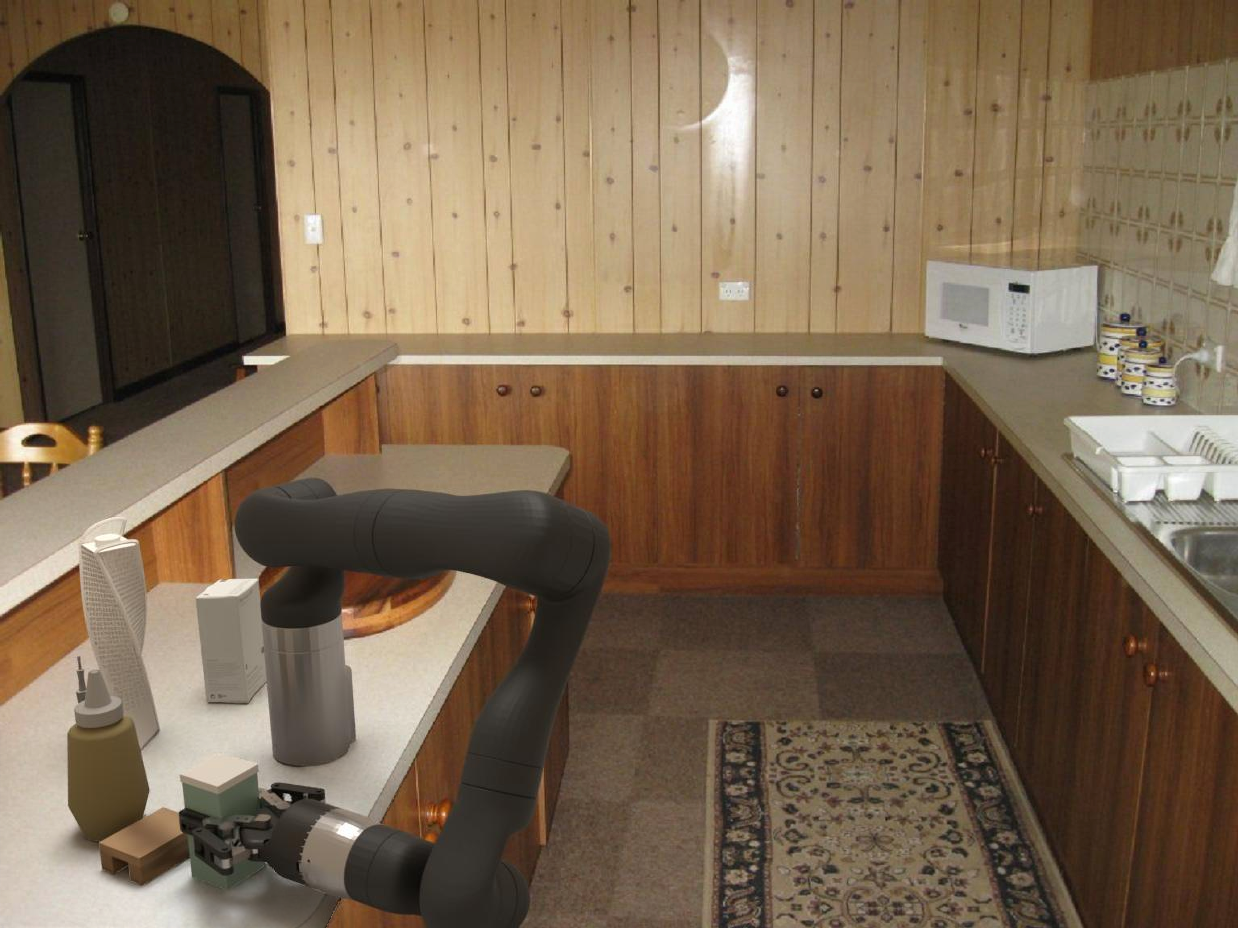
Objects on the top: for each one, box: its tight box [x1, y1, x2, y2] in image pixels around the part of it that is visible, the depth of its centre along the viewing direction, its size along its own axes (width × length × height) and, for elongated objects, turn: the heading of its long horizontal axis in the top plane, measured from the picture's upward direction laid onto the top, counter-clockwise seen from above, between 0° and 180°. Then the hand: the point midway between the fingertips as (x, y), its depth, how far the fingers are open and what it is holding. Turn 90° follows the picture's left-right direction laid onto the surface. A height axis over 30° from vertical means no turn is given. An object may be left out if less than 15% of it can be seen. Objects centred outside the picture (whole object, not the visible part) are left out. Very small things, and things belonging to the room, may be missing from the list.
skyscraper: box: [75, 516, 161, 751], centre depth 150 cm, size 8×8×28 cm
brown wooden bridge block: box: [98, 806, 190, 886], centre depth 127 cm, size 8×6×3 cm
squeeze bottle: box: [66, 669, 151, 842], centre depth 131 cm, size 8×8×18 cm
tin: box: [179, 752, 266, 891], centre depth 123 cm, size 5×5×11 cm
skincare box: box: [195, 578, 267, 704], centre depth 165 cm, size 8×6×15 cm
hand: (204, 805), depth 124 cm, fingers closed on tin, 5 cm apart
